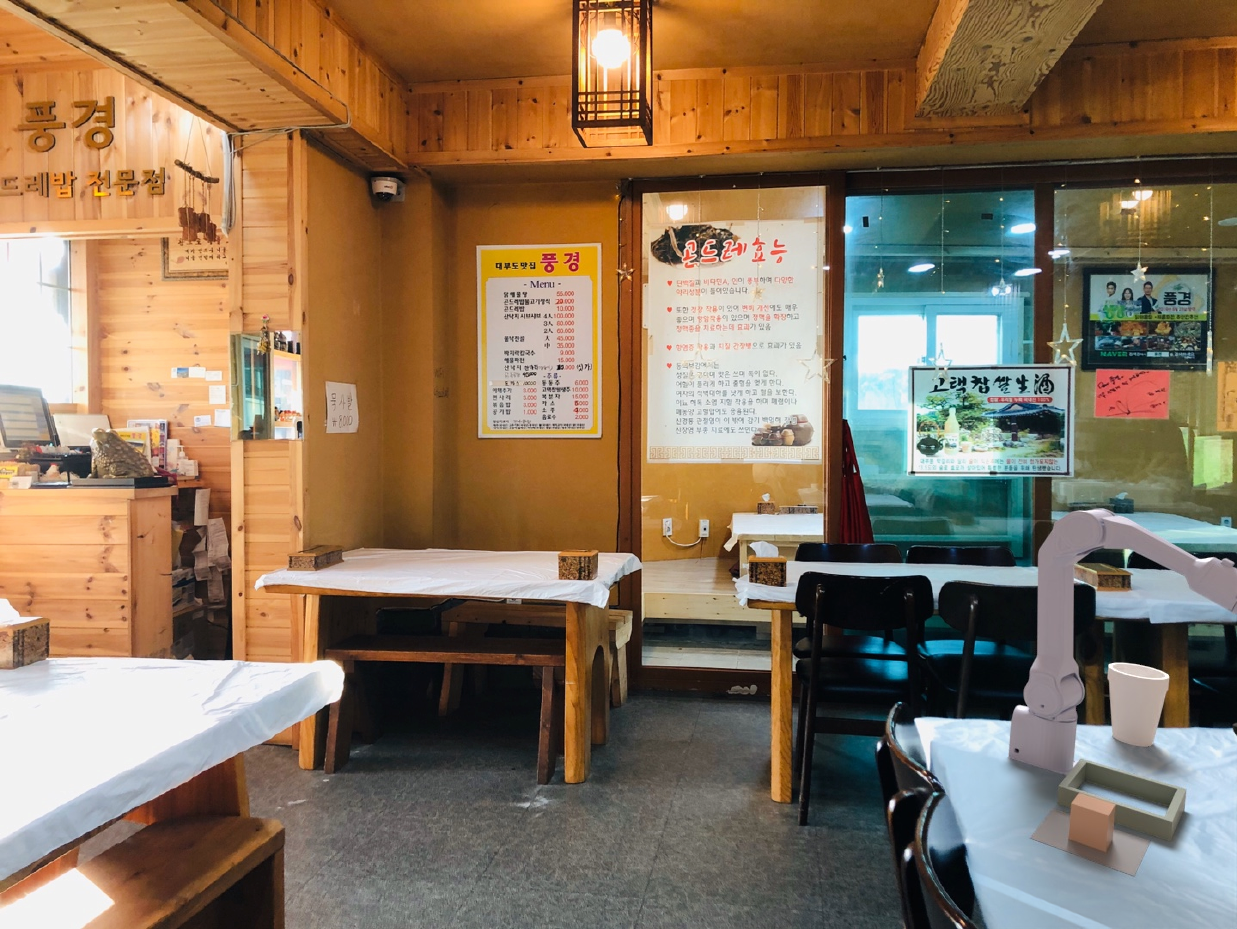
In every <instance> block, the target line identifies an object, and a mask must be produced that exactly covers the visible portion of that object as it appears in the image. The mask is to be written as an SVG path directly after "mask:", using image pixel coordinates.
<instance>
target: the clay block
mask: <svg viewBox="0 0 1237 929" xmlns="http://www.w3.org/2000/svg"><path fill="white" fill-rule="evenodd" d="M1115 807H1116V804H1113V803H1110V802H1107V801H1103V800H1100V799H1097V798H1094V797H1091V796H1088V795H1085V794H1081V793H1079V794H1078V795H1077V796H1076V798H1075V799H1074V800H1073V802H1072V803H1071V808H1070V825H1069V837H1068V839H1070V840H1073V841H1076V842H1079V843H1082V844H1084V845H1087V846H1090V847H1093V848H1096V849H1098V850H1101V851H1104V852H1106V851H1107V849H1108V847H1109V845H1110V844H1111V842H1112V840H1113V830H1114V829H1115V828H1114V827H1115V826H1114V825H1115V823H1114V818H1115Z"/></svg>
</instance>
